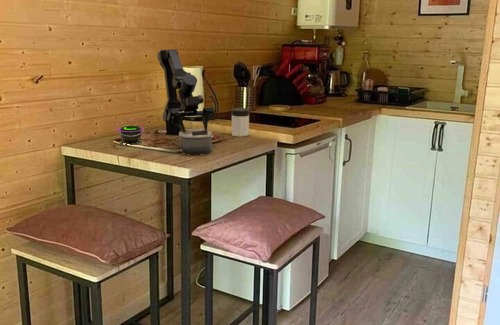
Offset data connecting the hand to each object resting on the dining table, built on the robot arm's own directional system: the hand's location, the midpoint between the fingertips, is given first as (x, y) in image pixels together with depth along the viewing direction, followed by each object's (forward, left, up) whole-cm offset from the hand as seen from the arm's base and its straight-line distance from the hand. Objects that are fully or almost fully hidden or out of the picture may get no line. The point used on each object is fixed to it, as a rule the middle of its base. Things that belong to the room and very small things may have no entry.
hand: (195, 131), depth 202 cm
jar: (+14, +34, -8) cm, 37 cm away
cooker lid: (0, 0, -2) cm, 1 cm away
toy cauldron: (-29, +6, -9) cm, 31 cm away
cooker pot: (0, 0, -8) cm, 8 cm away
